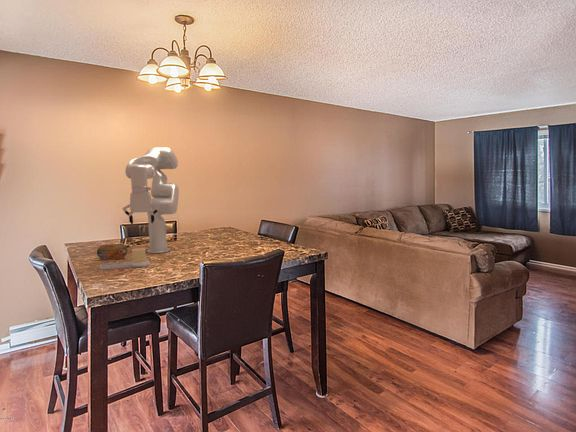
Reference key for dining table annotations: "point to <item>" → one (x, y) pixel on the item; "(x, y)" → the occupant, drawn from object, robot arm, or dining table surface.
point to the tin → (112, 251)
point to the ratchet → (124, 265)
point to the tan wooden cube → (138, 255)
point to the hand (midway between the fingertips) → (142, 223)
